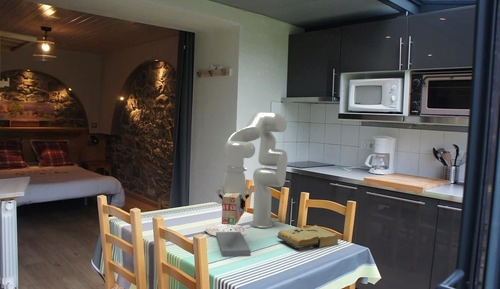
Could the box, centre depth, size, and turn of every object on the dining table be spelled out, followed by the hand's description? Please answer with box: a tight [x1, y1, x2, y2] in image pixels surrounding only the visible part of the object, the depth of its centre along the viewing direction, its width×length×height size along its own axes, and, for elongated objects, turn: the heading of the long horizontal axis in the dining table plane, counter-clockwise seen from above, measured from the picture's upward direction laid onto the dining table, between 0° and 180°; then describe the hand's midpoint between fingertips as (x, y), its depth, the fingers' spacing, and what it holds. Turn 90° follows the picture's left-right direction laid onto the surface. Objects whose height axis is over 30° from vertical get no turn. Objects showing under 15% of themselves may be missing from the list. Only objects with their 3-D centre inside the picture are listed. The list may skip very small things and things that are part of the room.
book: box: [276, 224, 339, 251], centre depth 182 cm, size 25×17×6 cm
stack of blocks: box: [221, 193, 245, 226], centre depth 173 cm, size 21×6×12 cm, turn 171°
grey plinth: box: [215, 231, 252, 258], centre depth 174 cm, size 12×26×2 cm, turn 11°
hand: (233, 208), depth 173 cm, fingers closed on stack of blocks, 7 cm apart
